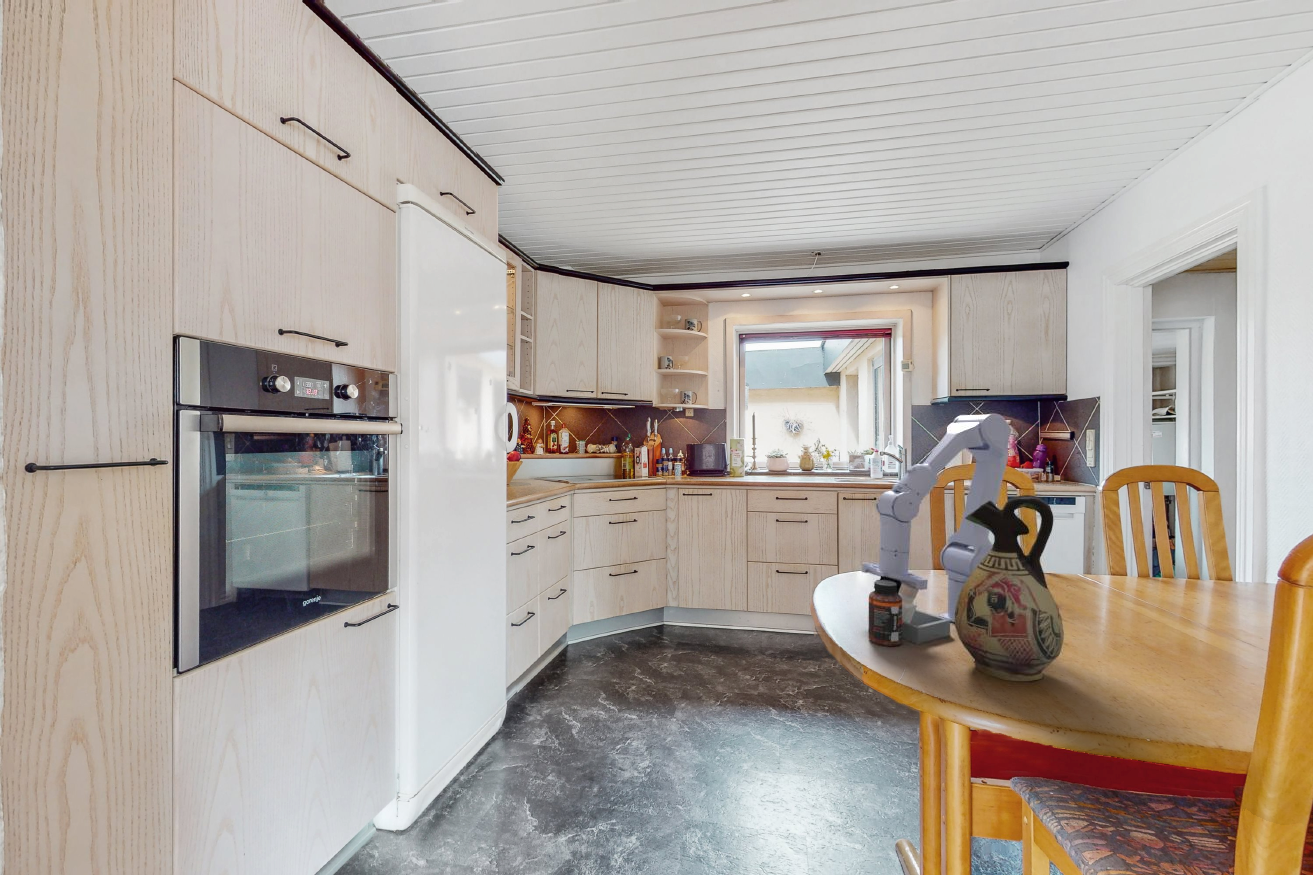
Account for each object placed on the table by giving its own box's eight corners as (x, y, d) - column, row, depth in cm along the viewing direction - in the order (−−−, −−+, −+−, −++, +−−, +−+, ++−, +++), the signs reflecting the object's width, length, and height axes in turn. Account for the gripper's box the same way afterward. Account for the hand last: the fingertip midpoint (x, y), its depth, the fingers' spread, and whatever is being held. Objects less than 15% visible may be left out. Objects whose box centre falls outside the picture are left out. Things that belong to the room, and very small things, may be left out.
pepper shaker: (891, 617, 115) (907, 579, 112) (908, 629, 112) (924, 590, 109) (880, 621, 113) (895, 581, 110) (897, 633, 110) (913, 593, 107)
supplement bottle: (905, 648, 102) (905, 587, 102) (871, 645, 103) (871, 585, 103) (898, 636, 108) (898, 579, 108) (865, 634, 109) (866, 577, 109)
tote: (903, 619, 118) (903, 605, 118) (950, 635, 109) (950, 620, 109) (872, 626, 114) (872, 611, 114) (918, 643, 104) (918, 628, 104)
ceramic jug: (944, 673, 92) (945, 493, 91) (964, 646, 103) (965, 486, 103) (1072, 706, 81) (1074, 502, 80) (1078, 671, 93) (1080, 493, 92)
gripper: (853, 543, 119) (849, 606, 119) (912, 558, 106) (908, 629, 106) (876, 542, 122) (872, 603, 122) (935, 556, 109) (931, 624, 109)
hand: (890, 615), depth 114 cm, fingers closed, pressing on pepper shaker
